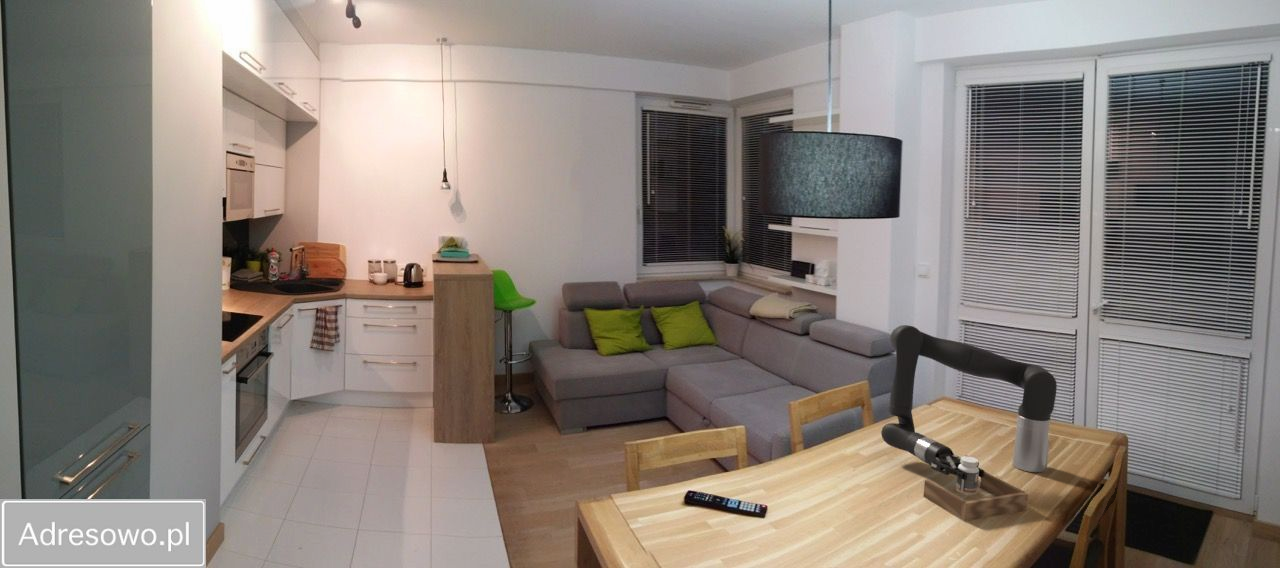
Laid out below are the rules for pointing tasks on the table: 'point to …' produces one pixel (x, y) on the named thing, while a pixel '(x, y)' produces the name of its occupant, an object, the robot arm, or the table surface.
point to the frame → (1003, 503)
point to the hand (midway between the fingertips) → (974, 475)
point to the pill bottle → (968, 476)
